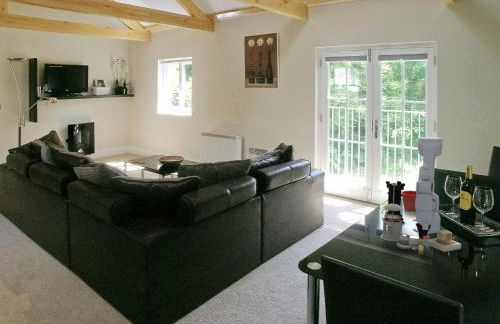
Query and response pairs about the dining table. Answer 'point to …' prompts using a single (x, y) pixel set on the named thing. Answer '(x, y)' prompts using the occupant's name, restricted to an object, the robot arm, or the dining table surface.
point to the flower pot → (409, 200)
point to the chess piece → (395, 197)
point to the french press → (392, 222)
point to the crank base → (410, 247)
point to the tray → (443, 248)
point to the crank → (414, 239)
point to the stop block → (444, 237)
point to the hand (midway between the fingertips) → (422, 240)
